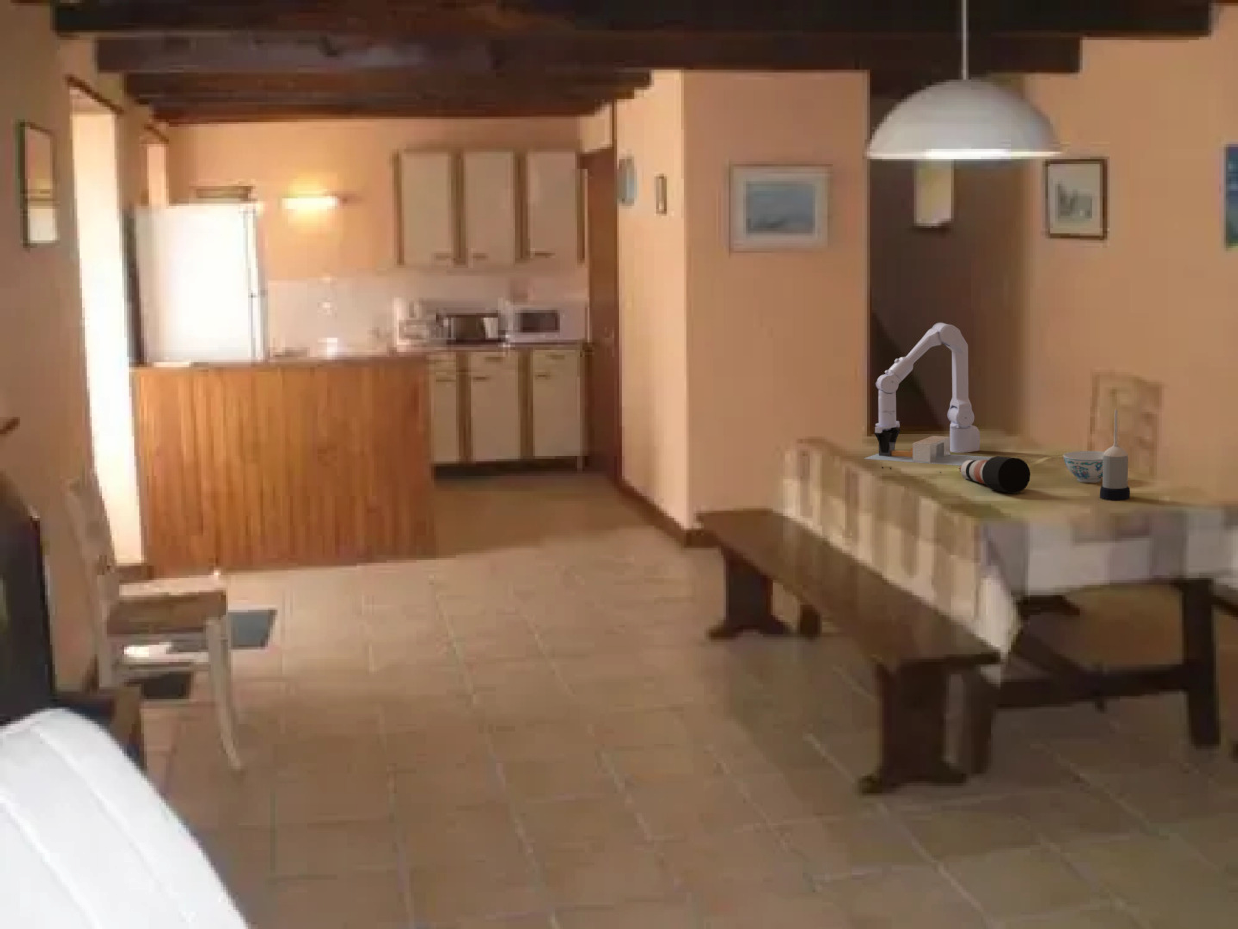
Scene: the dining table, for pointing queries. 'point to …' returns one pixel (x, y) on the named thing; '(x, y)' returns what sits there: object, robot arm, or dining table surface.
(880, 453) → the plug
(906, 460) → the board
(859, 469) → the dining table surface
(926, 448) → the grey arch block
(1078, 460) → the chinaware
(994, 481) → the striped cylinder
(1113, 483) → the nozzle bottle
